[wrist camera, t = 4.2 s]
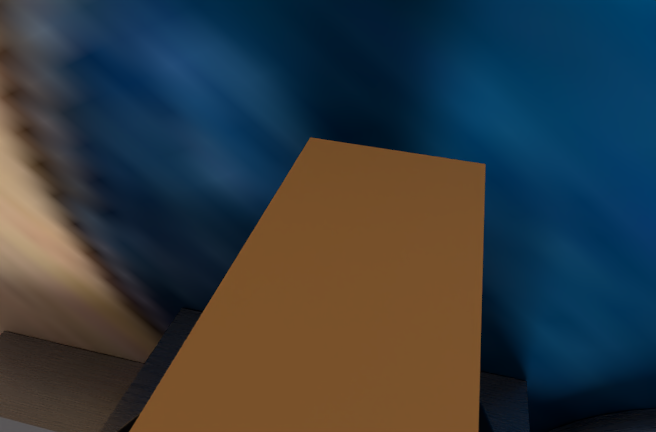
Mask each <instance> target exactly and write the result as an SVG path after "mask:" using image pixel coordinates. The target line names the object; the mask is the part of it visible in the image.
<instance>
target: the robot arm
mask: <svg viewBox="0 0 656 432" xmlns="http://www.w3.org/2000/svg"><path fill="white" fill-rule="evenodd" d="M140 413H141V412H140ZM140 413H139V414H138V415H137V416H135V417H134V418H133V419H132V420H130V421H129V422H128V423H127V424H125V425H124V426H123V427H121V428H120V429H119V430H118V431H116V432H129V431H130V430H131V428H132V426H133V425H134V423H135V422H136V420H137V418H138V417H139V415H140ZM478 432H494V430H493V428H492V426H491V423H490V421H489V419H488V416H487V414H486V412H485V409H484V407H483V405H482V403H481V402H480V401H479V430H478Z"/></svg>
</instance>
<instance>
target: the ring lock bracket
mask: <svg viewBox="0 0 656 432" xmlns="http://www.w3.org/2000/svg"><path fill="white" fill-rule="evenodd" d="M202 313H203V312H200V311H195V310H190V309H185V308H181V310H180V311H179V313H178V314H177V316H176V317H175V319H174V320H173V322H172V323H171V325H170V326H169V328H168V329H167V331H166V332H165V334H164V335H163V337H162V338H161V340H160V341H159V343H158V344H157V346H156V347H155V349H154V350H153V352H152V353H151V355H150V356H149V358H148V359H147V361H146V362H145V364H142V363H138V362H134V361H129V360H125V359H121V358H117V357H112V356H108V355H104V354H99V353H95V352H91V351H87V350H82V349H78V348H74V347H70V346H65V345H61V344H57V343H53V342H48V341H44V340H40V339H35V338H31V337H27V336H23V335H18V334H14V333H10V332H6V331H4V332H3V333H2V334H1V335H0V432H116V431H118V430H119V429H120V428H121V427H123V426H124V425H125V424H127V423H128V422H129V421H130V420H132V419H133V418H134V417H135V416H137V415H138V414H139V413H140V412H142V410H143V409H144V407H145V405H146V404H147V402H148V400H149V399H150V397H151V396H152V394H153V392H154V391H155V389H156V387H157V386H158V384H159V383H160V381H161V379H162V378H163V376H164V374H165V373H166V371H167V370H168V368H169V366H170V365H171V363H172V361H173V360H174V358H175V357H176V355H177V353H178V352H179V350H180V348H181V347H182V345H183V344H184V342H185V340H186V339H187V337H188V335H189V334H190V332H191V331H192V329H193V327H194V326H195V324H196V322H197V321H198V319H199V318H200V316H201V314H202ZM479 401H480V402H481V403H482V405H483V407H484V409H485V412H486V414H487V416H488V419H489V421H490V423H491V426H492V428H493V430H494V432H530V426H529V410H528V394H527V381H522V380H518V379H513V378H508V377H504V376H499V375H494V374H490V373H485V372H480V391H479ZM549 432H656V409H645V410H632V411H625V412H618V413H612V414H605V415H600V416H596V417H592V418H588V419H584V420H579V421H576V422H573V423H570V424H567V425H564V426H561V427H559V428H556V429H553V430H551V431H549Z"/></svg>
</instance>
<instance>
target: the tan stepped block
mask: <svg viewBox="0 0 656 432" xmlns="http://www.w3.org/2000/svg"><path fill="white" fill-rule="evenodd" d="M484 198H485V164H481V163H475V162H468V161H461V160H455V159H448V158H442V157H435V156H429V155H422V154H416V153H409V152H403V151H396V150H390V149H383V148H376V147H370V146H363V145H357V144H350V143H344V142H337V141H331V140H324V139H318V138H311V137H310V139H309V140H308V142H307V144H306V145H305V147H304V148H303V150H302V152H301V153H300V155H299V157H298V158H297V160H296V161H295V163H294V165H293V166H292V168H291V170H290V171H289V173H288V174H287V176H286V178H285V179H284V181H283V183H282V184H281V186H280V187H279V189H278V191H277V192H276V194H275V196H274V197H273V199H272V200H271V202H270V204H269V205H268V207H267V209H266V210H265V212H264V213H263V215H262V217H261V218H260V220H259V222H258V223H257V225H256V226H255V228H254V230H253V231H252V233H251V235H250V236H249V238H248V239H247V241H246V243H245V244H244V246H243V248H242V249H241V251H240V252H239V254H238V256H237V257H236V259H235V261H234V262H233V264H232V266H231V267H230V269H229V270H228V272H227V274H226V275H225V277H224V279H223V280H222V282H221V283H220V285H219V287H218V288H217V290H216V292H215V293H214V295H213V296H212V298H211V300H210V301H209V303H208V305H207V306H206V308H205V309H204V311H203V313H202V314H201V316H200V318H199V319H198V321H197V322H196V324H195V326H194V327H193V329H192V331H191V332H190V334H189V335H188V337H187V339H186V340H185V342H184V344H183V345H182V347H181V348H180V350H179V352H178V353H177V355H176V357H175V358H174V360H173V361H172V363H171V365H170V366H169V368H168V370H167V371H166V373H165V374H164V376H163V378H162V379H161V381H160V383H159V384H158V386H157V387H156V389H155V391H154V392H153V394H152V396H151V397H150V399H149V400H148V402H147V404H146V405H145V407H144V409H143V410H142V412H141V413H140V415H139V417H138V418H137V420H136V422H135V423H134V425H133V426H132V428H131V430H130V431H129V432H478V430H479V391H480V353H481V314H482V275H483V237H484Z"/></svg>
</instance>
